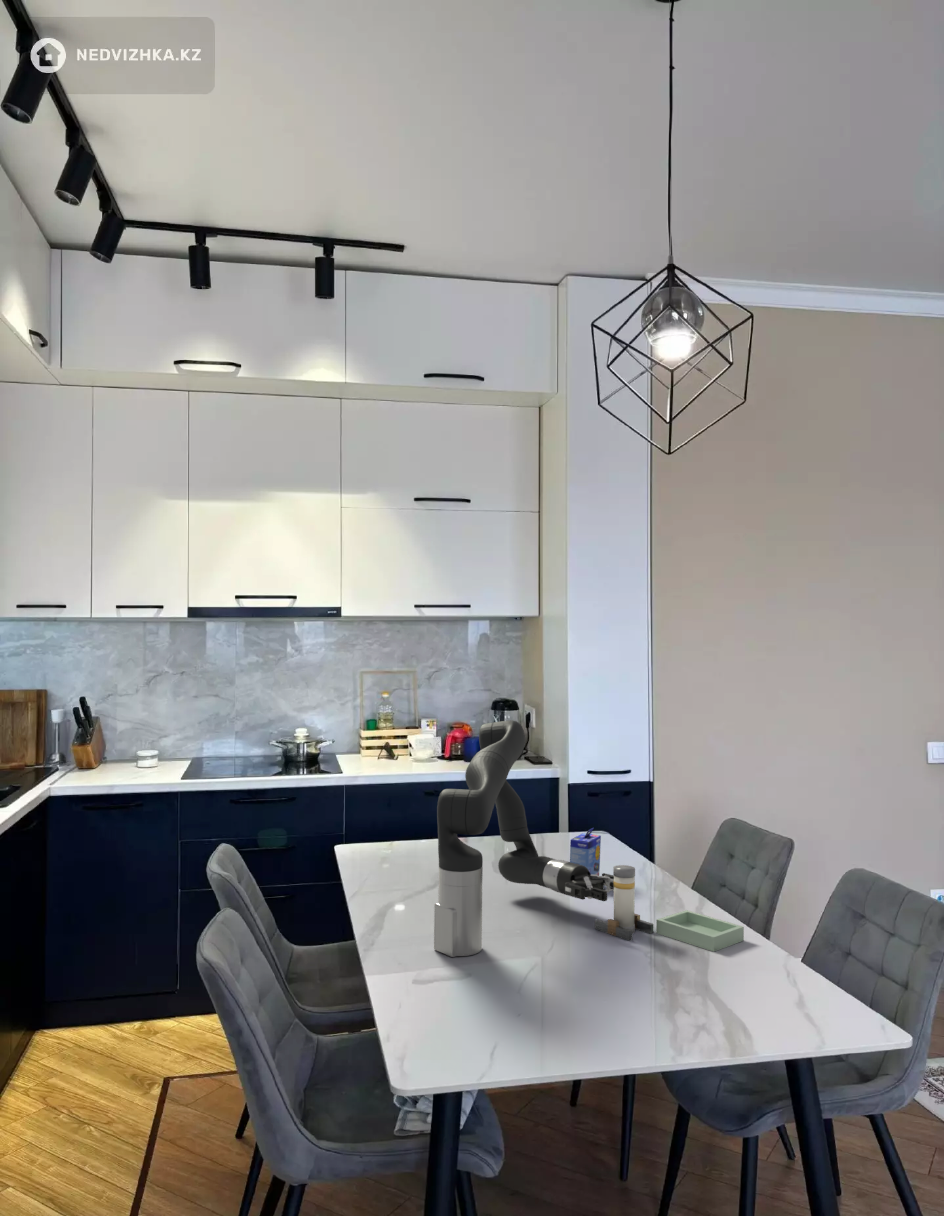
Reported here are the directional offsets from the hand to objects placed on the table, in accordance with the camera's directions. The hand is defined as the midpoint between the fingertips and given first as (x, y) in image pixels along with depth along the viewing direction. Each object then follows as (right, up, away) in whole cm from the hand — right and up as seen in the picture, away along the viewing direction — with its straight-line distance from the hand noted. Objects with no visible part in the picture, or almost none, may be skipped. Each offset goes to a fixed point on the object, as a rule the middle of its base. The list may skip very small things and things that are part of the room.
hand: (618, 893), depth 205 cm
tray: (+17, -8, -5) cm, 19 cm away
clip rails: (+1, -8, -1) cm, 8 cm away
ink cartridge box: (-3, -9, +37) cm, 38 cm away
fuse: (+1, -8, -1) cm, 8 cm away
